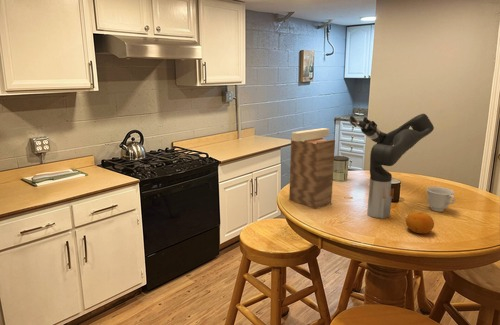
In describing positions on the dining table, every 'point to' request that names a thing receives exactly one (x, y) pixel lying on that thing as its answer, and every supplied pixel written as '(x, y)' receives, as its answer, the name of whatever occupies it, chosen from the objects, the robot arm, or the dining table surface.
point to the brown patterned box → (312, 172)
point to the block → (310, 134)
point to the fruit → (419, 222)
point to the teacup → (439, 198)
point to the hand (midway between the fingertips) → (357, 118)
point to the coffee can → (340, 168)
